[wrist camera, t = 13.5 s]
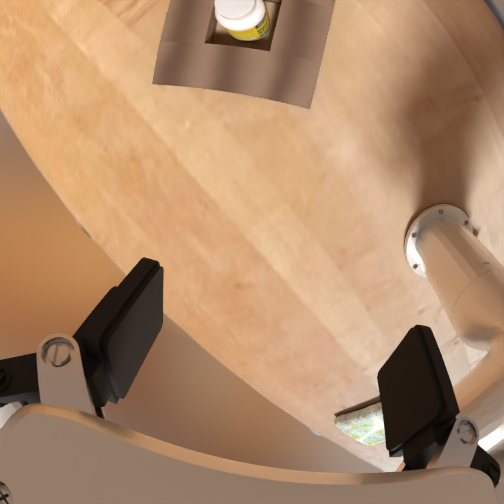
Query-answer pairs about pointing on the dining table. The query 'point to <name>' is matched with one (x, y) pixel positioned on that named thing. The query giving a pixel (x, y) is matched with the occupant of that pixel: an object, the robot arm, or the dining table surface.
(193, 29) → the walnut board
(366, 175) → the dining table surface
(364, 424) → the towel
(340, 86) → the dining table surface
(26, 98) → the dining table surface
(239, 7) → the supplement bottle
